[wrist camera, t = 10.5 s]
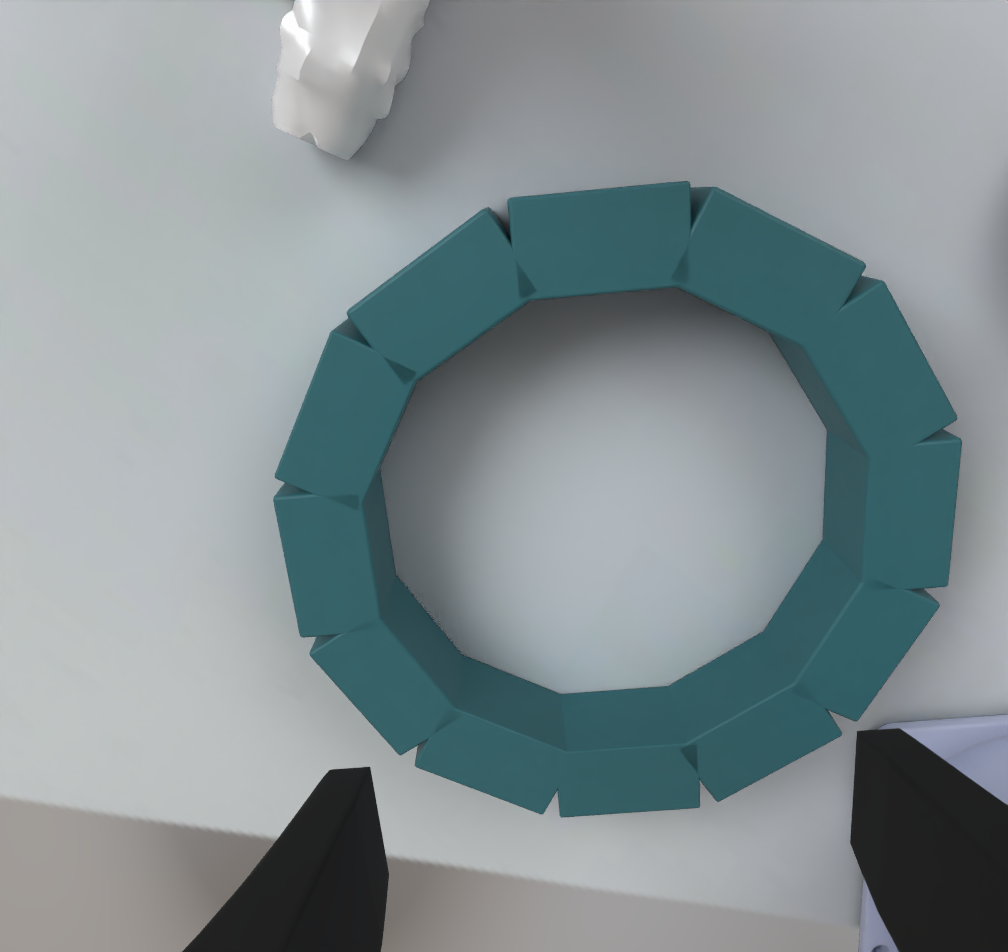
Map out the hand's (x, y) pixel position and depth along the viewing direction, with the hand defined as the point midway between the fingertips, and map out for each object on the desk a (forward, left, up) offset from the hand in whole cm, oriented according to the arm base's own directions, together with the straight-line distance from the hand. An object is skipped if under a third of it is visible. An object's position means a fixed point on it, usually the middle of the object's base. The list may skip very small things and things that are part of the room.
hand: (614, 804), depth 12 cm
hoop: (+1, -1, -9) cm, 10 cm away
